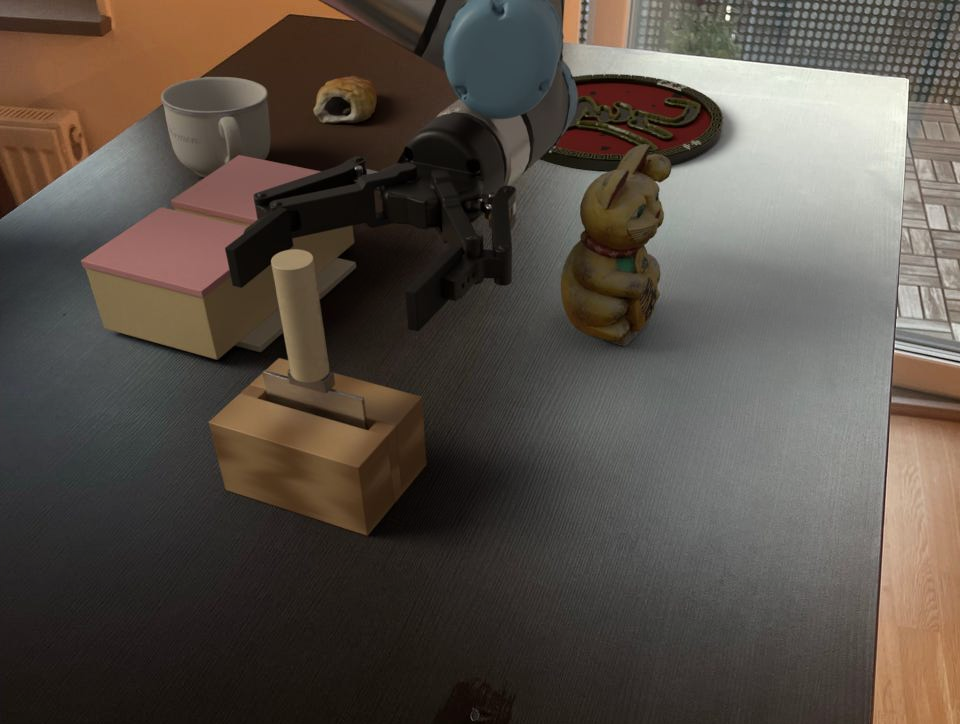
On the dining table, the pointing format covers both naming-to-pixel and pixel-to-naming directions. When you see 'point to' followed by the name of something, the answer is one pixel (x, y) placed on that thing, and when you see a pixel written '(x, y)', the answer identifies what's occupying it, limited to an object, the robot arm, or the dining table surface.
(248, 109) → the teacup
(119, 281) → the cake
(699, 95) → the decorative plate
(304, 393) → the knife
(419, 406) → the knife block
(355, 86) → the pastry
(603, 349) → the dining table surface
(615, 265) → the decorative figurine
